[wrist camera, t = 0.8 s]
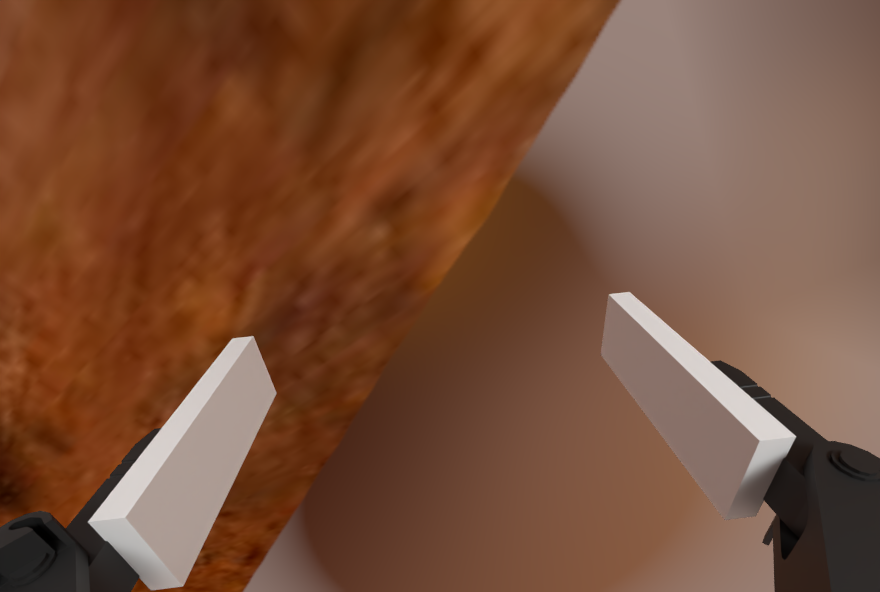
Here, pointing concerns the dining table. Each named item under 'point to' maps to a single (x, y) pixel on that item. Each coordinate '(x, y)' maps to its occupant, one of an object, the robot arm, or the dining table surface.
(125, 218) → the dining table surface
